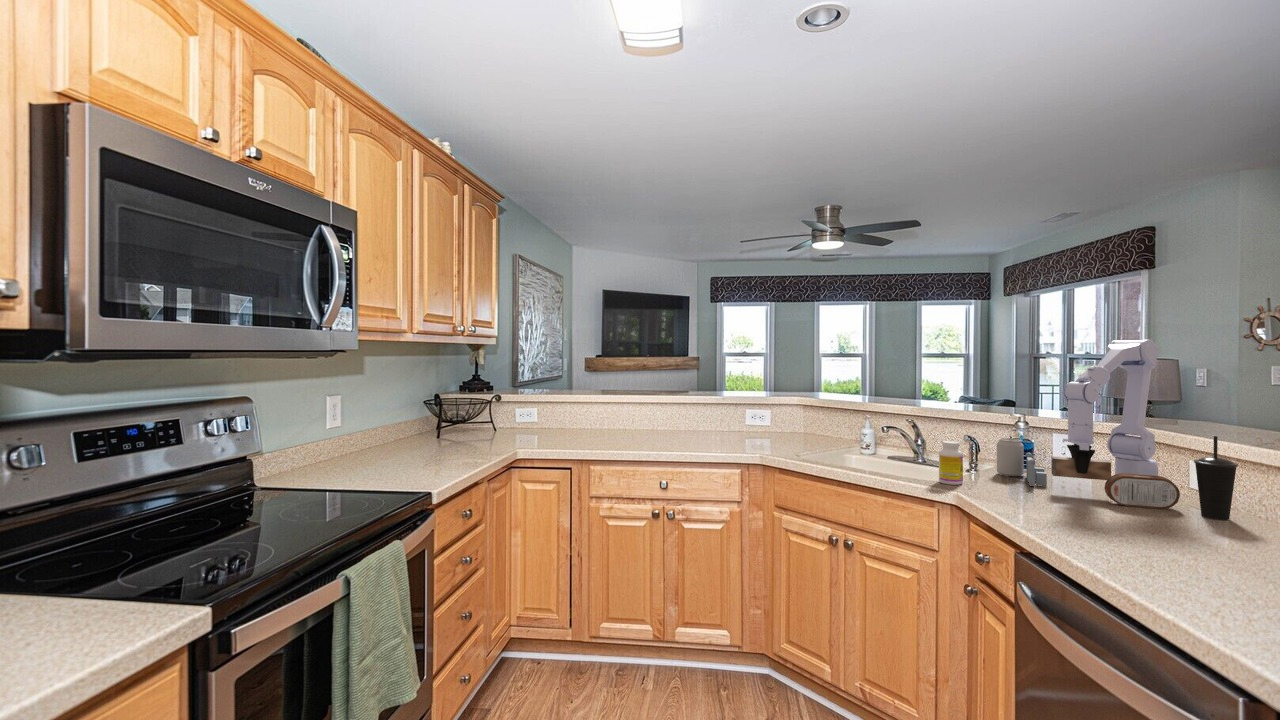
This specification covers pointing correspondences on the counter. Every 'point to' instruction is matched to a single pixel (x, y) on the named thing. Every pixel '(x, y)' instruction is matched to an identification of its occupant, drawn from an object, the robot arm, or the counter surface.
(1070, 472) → the rail
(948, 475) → the supplement bottle
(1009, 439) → the can
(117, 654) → the counter surface
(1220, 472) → the drinking cup
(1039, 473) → the grey blocky bracket
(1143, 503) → the tin
